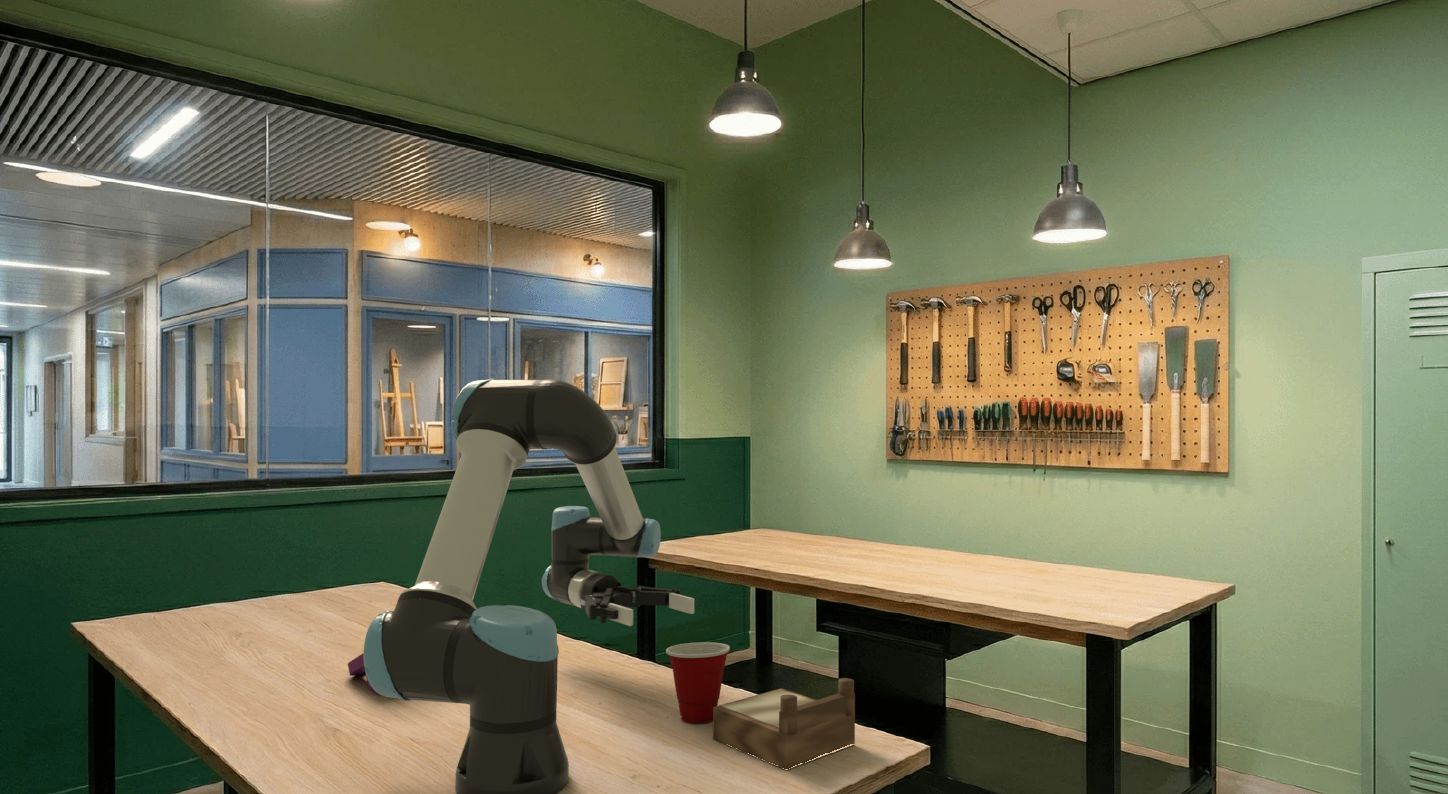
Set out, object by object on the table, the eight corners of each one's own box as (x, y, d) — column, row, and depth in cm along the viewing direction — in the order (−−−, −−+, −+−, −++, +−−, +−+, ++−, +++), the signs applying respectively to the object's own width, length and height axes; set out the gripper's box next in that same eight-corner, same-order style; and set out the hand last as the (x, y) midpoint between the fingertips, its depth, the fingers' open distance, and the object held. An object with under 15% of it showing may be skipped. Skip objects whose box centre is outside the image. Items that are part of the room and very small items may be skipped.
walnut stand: (713, 739, 139) (713, 675, 139) (781, 718, 148) (781, 658, 149) (788, 771, 126) (788, 701, 126) (856, 746, 136) (857, 680, 136)
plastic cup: (704, 703, 156) (705, 634, 156) (742, 720, 147) (743, 648, 147) (652, 715, 149) (653, 643, 150) (688, 734, 141) (689, 658, 141)
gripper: (648, 602, 180) (716, 622, 164) (539, 621, 164) (603, 645, 148) (648, 565, 180) (716, 581, 165) (539, 581, 164) (603, 600, 148)
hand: (663, 611), depth 156 cm, fingers open, 13 cm apart
